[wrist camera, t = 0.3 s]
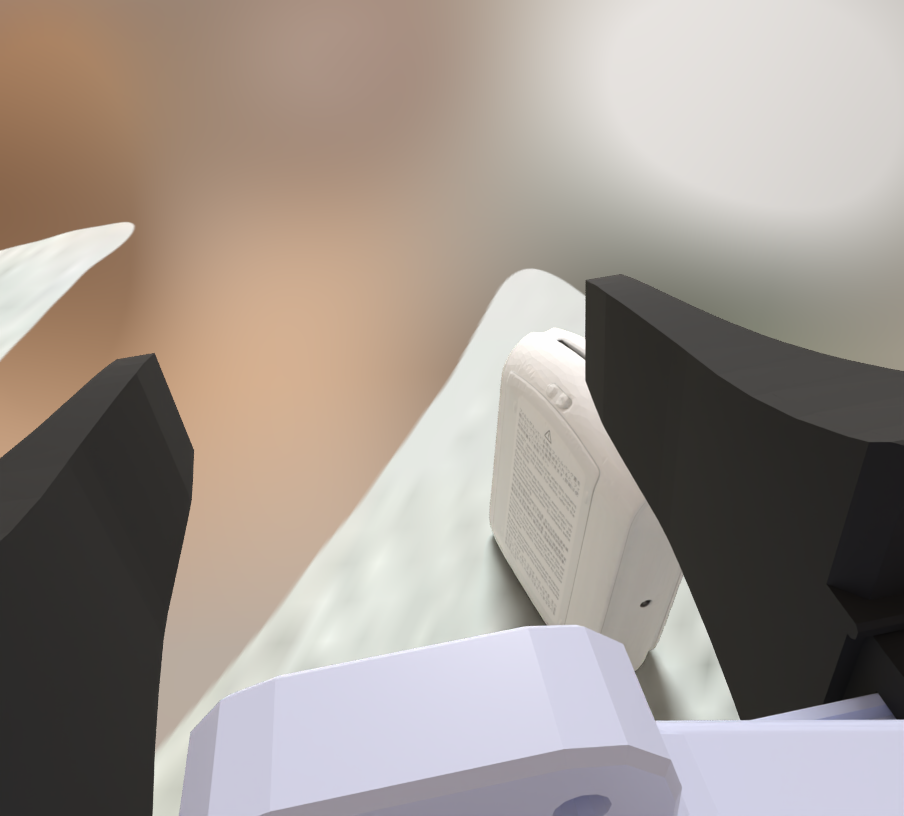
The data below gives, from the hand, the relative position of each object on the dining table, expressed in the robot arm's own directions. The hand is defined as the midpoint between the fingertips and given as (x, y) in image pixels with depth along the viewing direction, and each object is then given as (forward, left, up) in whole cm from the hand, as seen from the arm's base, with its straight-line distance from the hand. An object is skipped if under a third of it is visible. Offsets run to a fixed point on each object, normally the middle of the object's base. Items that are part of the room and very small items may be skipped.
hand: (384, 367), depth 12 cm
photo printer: (+10, -8, -21) cm, 25 cm away
